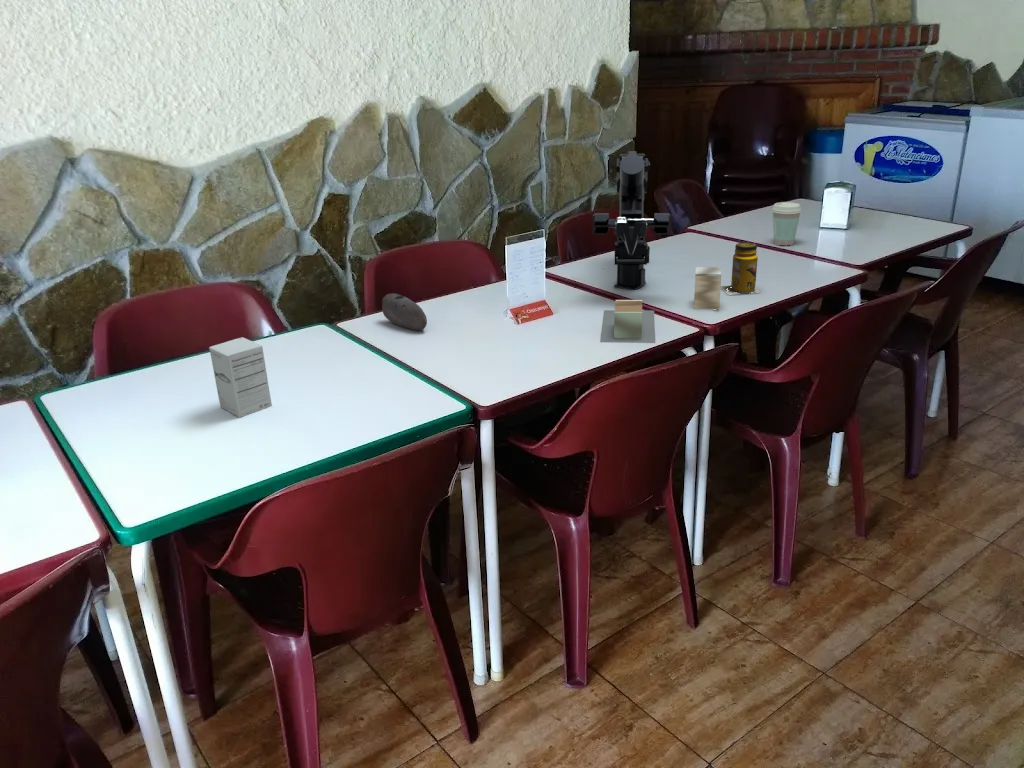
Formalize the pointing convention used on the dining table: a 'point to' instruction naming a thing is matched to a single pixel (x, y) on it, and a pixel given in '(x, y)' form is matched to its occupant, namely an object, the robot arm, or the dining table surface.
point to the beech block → (707, 287)
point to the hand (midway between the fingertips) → (630, 254)
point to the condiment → (743, 269)
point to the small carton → (628, 319)
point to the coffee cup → (785, 222)
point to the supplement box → (240, 376)
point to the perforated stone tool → (403, 312)
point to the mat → (647, 337)
